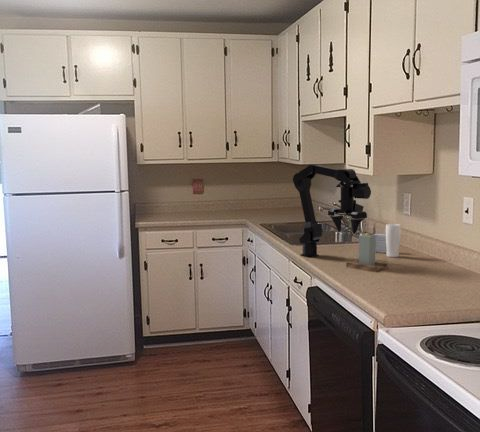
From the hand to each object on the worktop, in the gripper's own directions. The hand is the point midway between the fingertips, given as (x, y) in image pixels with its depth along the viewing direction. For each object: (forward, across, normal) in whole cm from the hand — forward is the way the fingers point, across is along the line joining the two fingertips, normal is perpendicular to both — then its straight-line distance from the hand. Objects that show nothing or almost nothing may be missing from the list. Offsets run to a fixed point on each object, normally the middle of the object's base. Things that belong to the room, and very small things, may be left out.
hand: (346, 232), depth 241 cm
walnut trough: (+13, -13, +1) cm, 18 cm away
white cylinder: (+14, -4, -26) cm, 30 cm away
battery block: (+12, -13, +1) cm, 18 cm away
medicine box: (+13, +6, -30) cm, 33 cm away
